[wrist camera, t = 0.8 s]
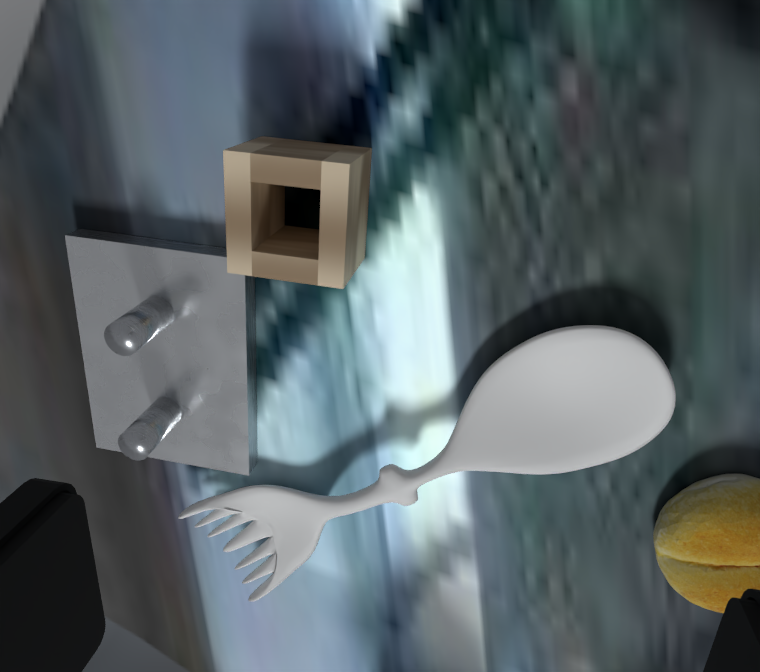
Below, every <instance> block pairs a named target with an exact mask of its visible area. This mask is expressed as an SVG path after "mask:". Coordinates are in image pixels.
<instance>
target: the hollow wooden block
mask: <svg viewBox="0 0 760 672" xmlns="http://www.w3.org/2000/svg"><path fill="white" fill-rule="evenodd" d="M371 154H372V148H367V147H357V146H348V145H339V144H329V143H320V142H311V141H301V140H292V139H283V138H273V137H264V136H261V137H258V138H256V139H253V140H250V141H247V142H244V143H242V144H239V145H236V146H233V147H231V148H228V149H225V150H223V158H224V188H225V217H226V247H227V273H233V274H240V275H247V276H255V277H262V278H269V279H276V280H283V281H290V282H297V283H305V284H312V285H319V286H326V287H333V288H340V289H344V287H345V286H346V284H347V283H348V281H349V280H350V278H351V277H352V276H353V274H354V273H355V271H356V270H357V268H358V267H359V266H360V264H361V263H362V261H363V260H364V258H365V245H366V230H367V215H368V200H369V185H370V170H371ZM285 186H292V187H300V188H309V189H317V190H321V196H320V227H319V230H318V229H310V228H302V227H294V226H286V225H285Z"/></svg>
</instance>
